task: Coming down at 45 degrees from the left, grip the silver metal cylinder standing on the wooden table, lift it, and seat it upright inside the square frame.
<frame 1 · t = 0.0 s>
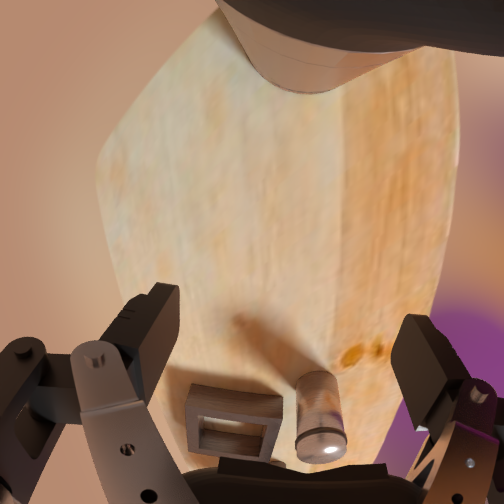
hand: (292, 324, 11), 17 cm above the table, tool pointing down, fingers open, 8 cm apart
silver metal cylinder: (316, 385, 35), on the table
square frame: (233, 417, 38), on the table
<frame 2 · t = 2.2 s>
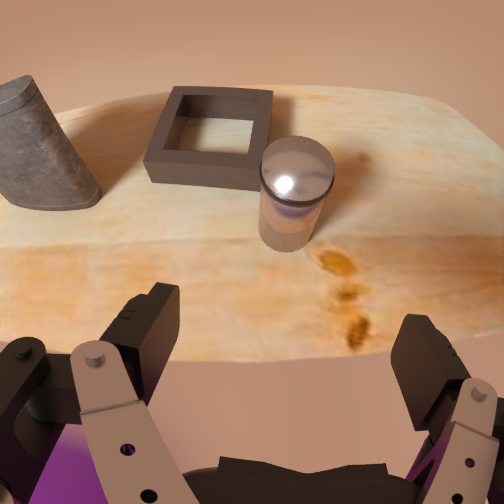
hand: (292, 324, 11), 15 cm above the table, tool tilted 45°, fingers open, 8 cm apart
silver metal cylinder: (285, 227, 29), on the table
flask: (49, 198, 31), on the table
square frame: (215, 143, 33), on the table
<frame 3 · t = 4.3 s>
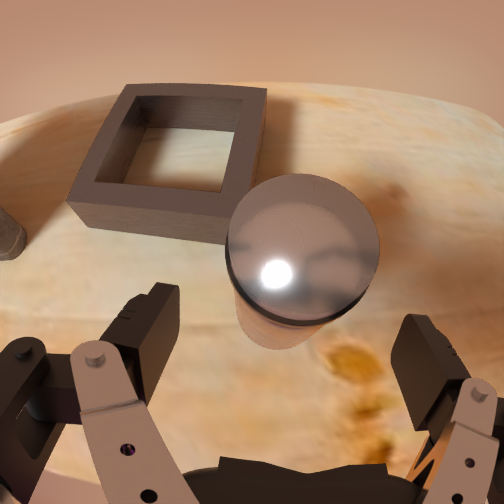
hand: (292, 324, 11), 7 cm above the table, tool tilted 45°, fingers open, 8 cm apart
silver metal cylinder: (278, 308, 19), on the table
square frame: (179, 168, 22), on the table
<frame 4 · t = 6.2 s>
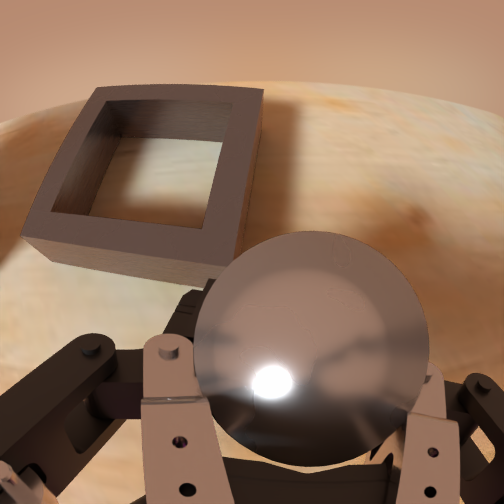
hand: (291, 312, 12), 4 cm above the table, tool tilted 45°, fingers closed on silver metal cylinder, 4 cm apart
silver metal cylinder: (276, 369, 15), on the table, touching gripper
square frame: (157, 188, 18), on the table
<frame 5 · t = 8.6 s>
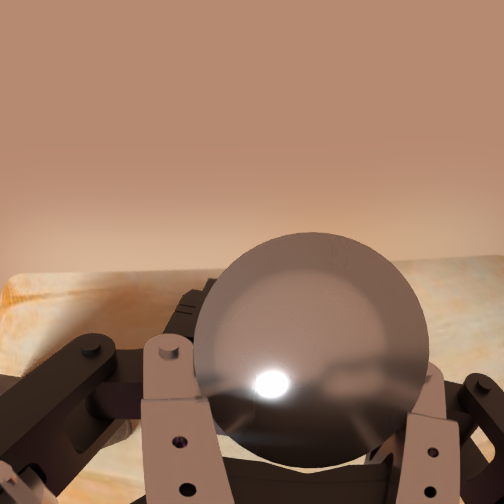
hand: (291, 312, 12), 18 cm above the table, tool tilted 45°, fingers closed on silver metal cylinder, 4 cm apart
silver metal cylinder: (275, 370, 15), point 14 cm above the table, touching gripper
flask: (67, 412, 25), on the table
when the fingers open (6 cm above the table, at t = 11.2 s): silver metal cylinder drops 1 cm, resting in square frame.
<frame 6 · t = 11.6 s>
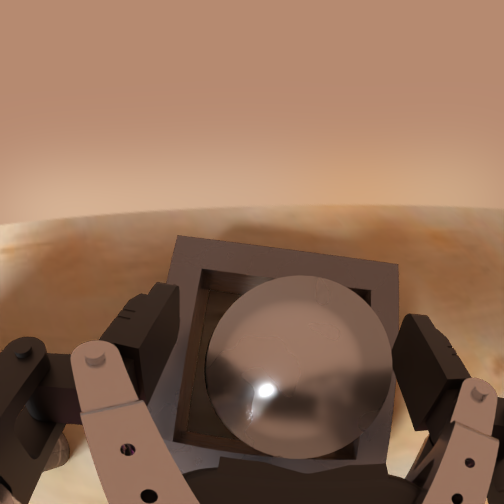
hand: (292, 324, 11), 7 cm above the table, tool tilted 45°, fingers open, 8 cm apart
silver metal cylinder: (272, 376, 16), resting in square frame
square frame: (272, 371, 16), on the table
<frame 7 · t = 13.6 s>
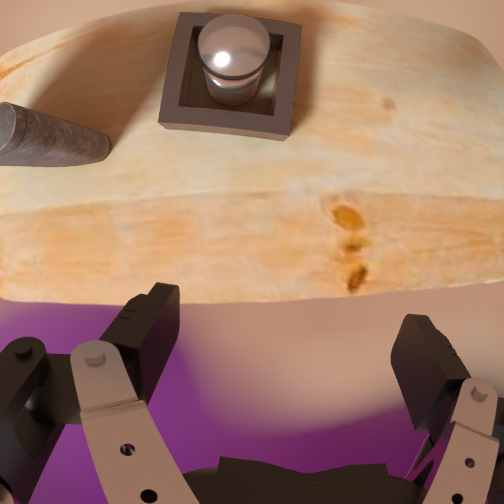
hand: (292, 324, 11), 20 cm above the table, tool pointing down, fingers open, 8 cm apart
silver metal cylinder: (232, 82, 28), resting in square frame
flask: (52, 151, 28), on the table
square frame: (231, 79, 27), on the table
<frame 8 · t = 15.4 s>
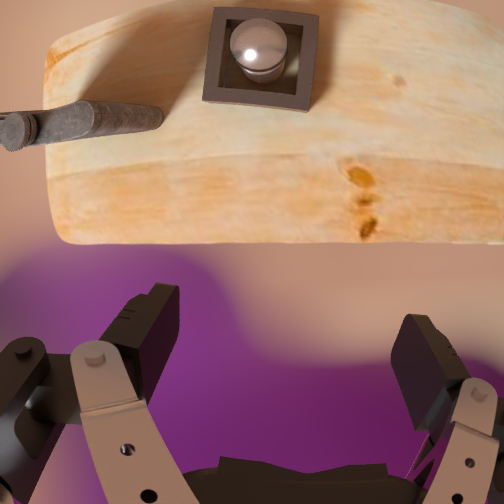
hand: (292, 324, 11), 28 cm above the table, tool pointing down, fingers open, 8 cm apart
silver metal cylinder: (262, 63, 32), resting in square frame
flask: (112, 121, 36), on the table
square frame: (262, 61, 32), on the table
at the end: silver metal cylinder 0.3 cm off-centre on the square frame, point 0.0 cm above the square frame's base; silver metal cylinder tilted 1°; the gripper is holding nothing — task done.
